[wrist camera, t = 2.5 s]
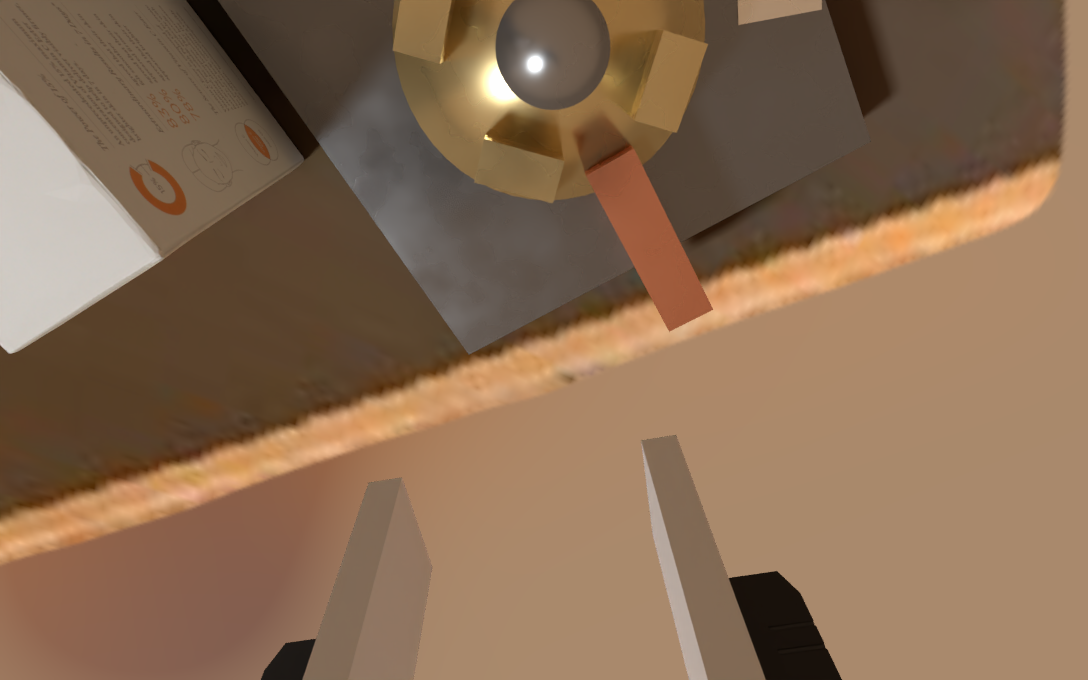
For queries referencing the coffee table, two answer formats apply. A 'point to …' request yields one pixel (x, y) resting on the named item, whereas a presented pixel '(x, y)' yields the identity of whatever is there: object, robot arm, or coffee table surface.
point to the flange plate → (568, 238)
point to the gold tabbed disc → (565, 121)
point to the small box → (115, 149)
